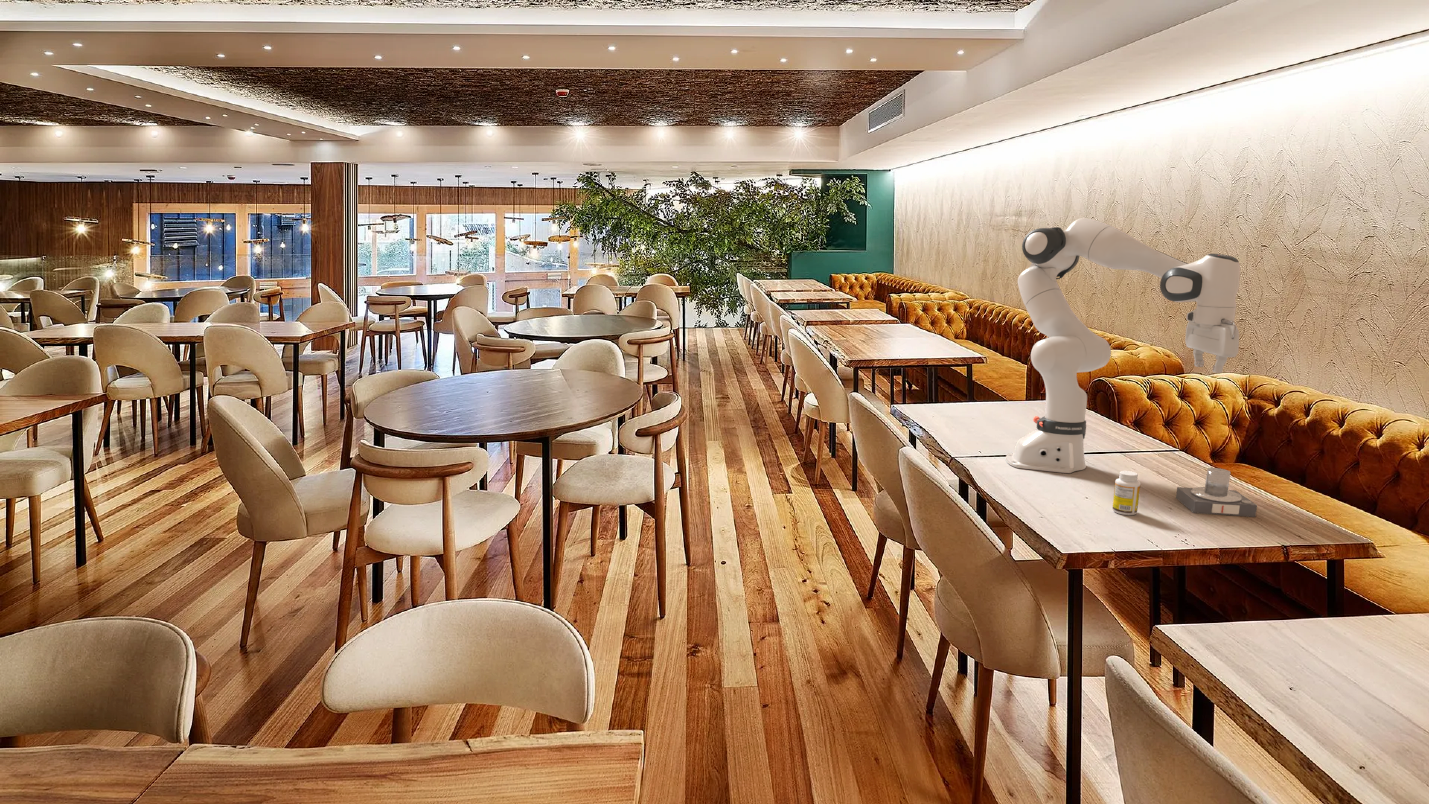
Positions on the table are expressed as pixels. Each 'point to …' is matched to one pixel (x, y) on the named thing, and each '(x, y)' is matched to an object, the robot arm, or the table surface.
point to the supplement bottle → (1126, 493)
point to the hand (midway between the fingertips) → (1207, 369)
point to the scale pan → (1230, 497)
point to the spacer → (1217, 482)
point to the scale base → (1216, 504)
